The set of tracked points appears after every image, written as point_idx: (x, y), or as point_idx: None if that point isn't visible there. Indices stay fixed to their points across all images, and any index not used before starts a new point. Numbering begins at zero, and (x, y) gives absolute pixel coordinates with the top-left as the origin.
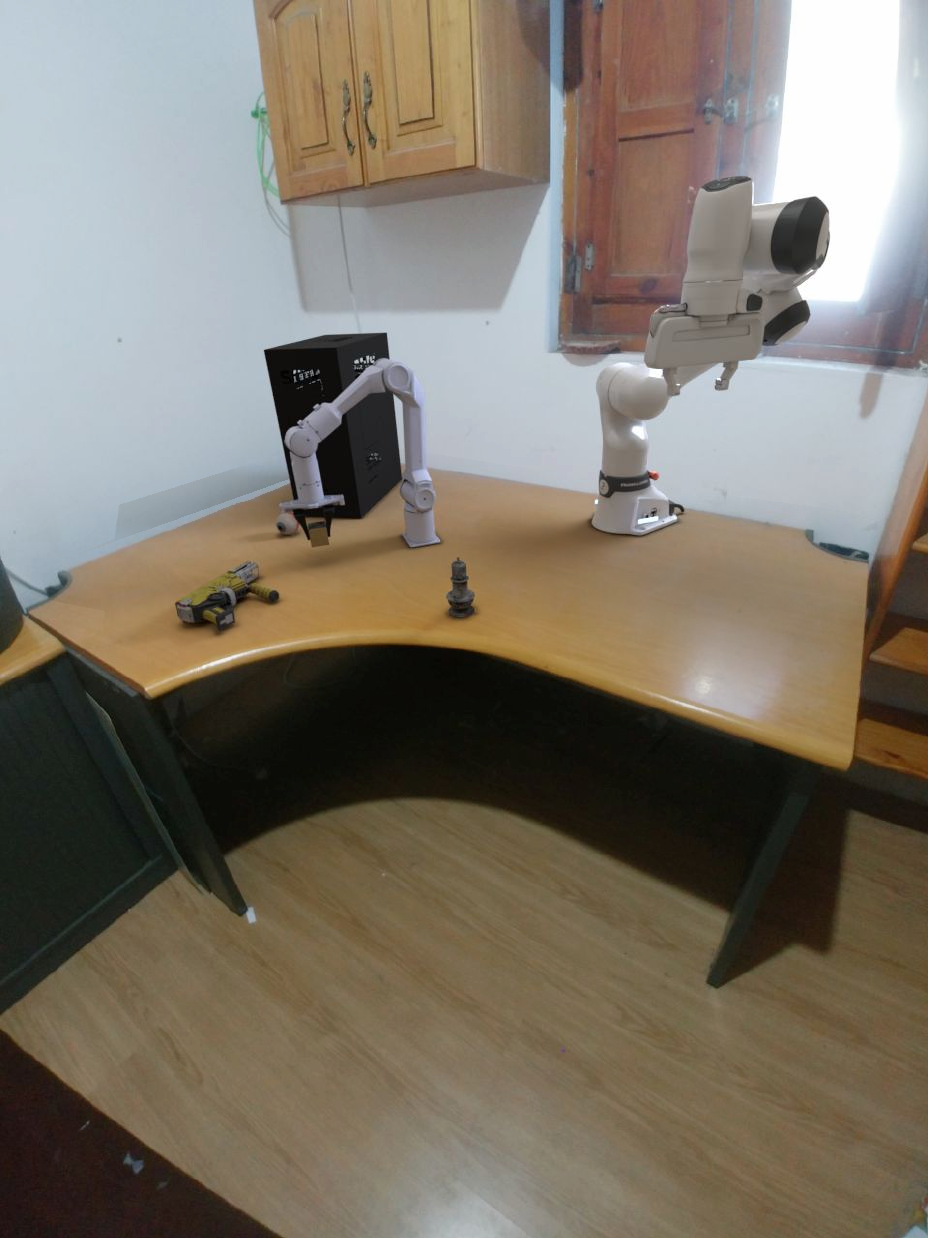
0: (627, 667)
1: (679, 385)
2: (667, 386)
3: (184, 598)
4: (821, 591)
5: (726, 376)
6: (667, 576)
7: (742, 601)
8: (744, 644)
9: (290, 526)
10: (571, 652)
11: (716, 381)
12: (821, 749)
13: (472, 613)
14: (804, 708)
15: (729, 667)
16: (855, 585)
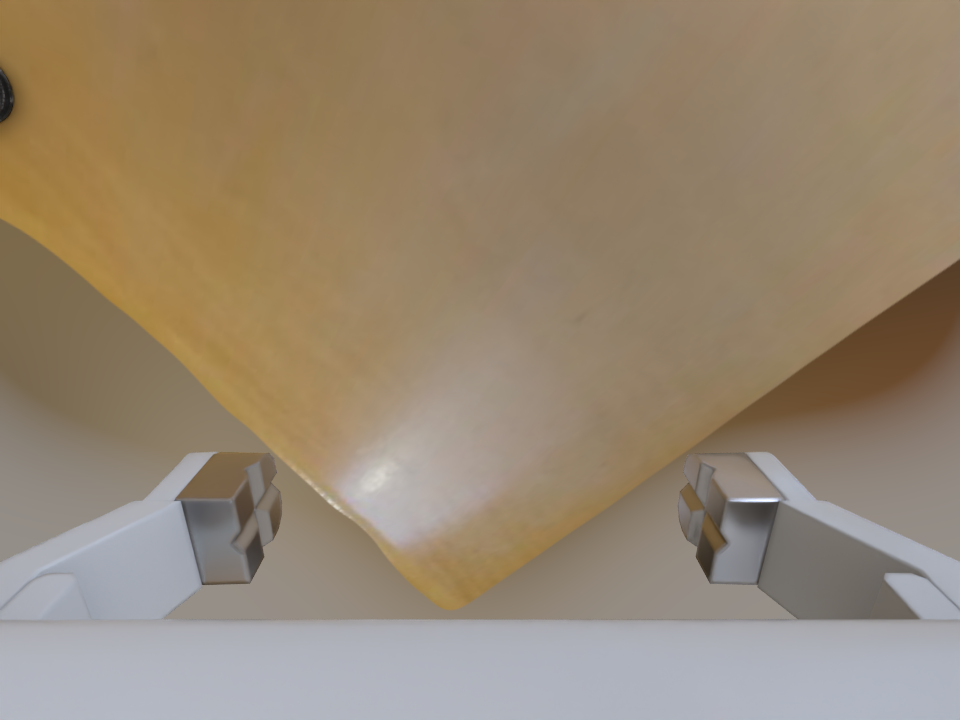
0: (286, 405)
1: (233, 582)
2: (155, 492)
3: None
4: (789, 311)
5: (788, 584)
6: (544, 110)
7: (614, 288)
8: (505, 413)
9: None
10: (205, 335)
11: (715, 497)
12: (437, 602)
13: (8, 114)
14: (473, 550)
15: (440, 455)
16: (872, 315)
